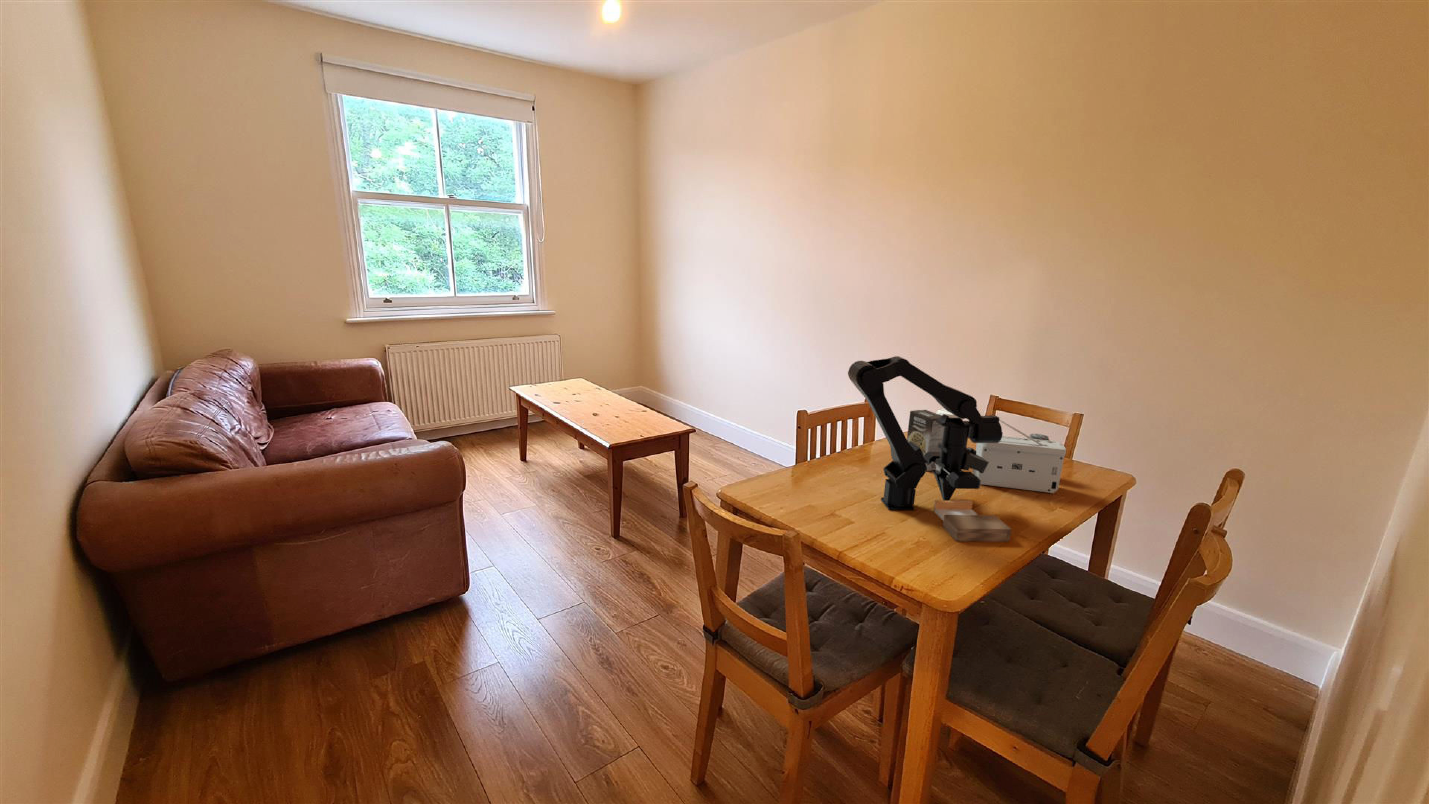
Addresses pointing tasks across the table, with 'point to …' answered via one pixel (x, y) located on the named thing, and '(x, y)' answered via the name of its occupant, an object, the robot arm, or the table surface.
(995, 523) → the taupe rectangular slab
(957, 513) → the plate
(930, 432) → the coffee box
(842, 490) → the table surface
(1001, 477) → the stereo radio cassette player
